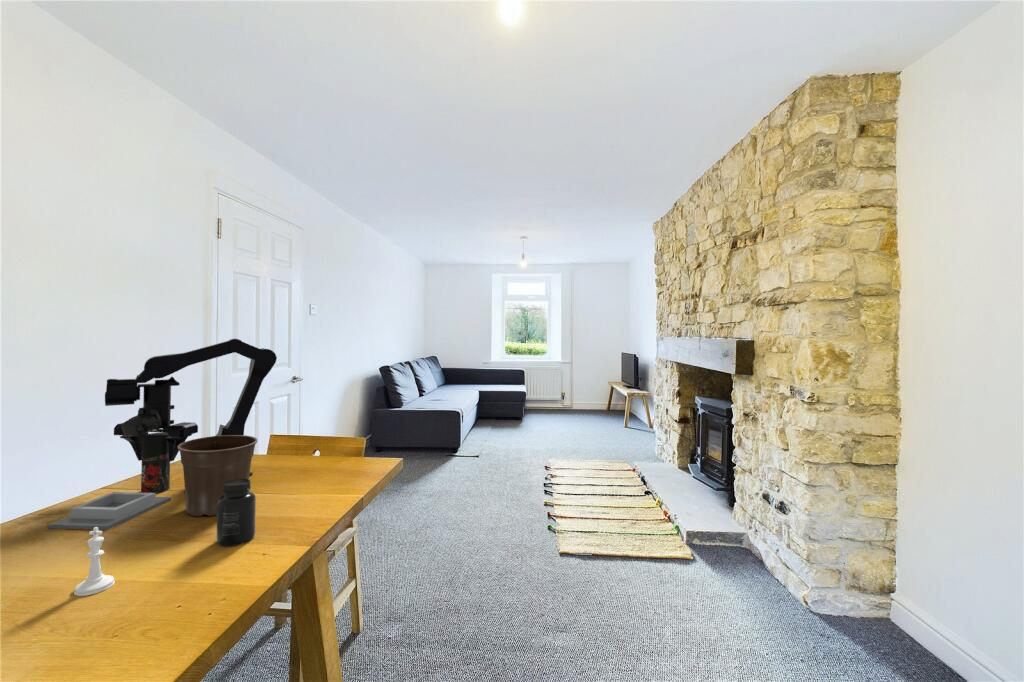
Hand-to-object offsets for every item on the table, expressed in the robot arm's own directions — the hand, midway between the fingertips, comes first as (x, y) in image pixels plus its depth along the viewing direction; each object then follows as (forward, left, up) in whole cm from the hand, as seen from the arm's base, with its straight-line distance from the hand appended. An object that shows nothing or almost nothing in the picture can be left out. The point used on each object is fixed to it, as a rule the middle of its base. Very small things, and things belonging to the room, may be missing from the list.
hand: (156, 460), depth 116 cm
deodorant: (0, 0, -8) cm, 8 cm away
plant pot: (-24, +10, -8) cm, 27 cm away
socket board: (-3, +15, -8) cm, 17 cm away
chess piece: (-27, +44, -8) cm, 52 cm away
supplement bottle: (-39, +26, -8) cm, 48 cm away
